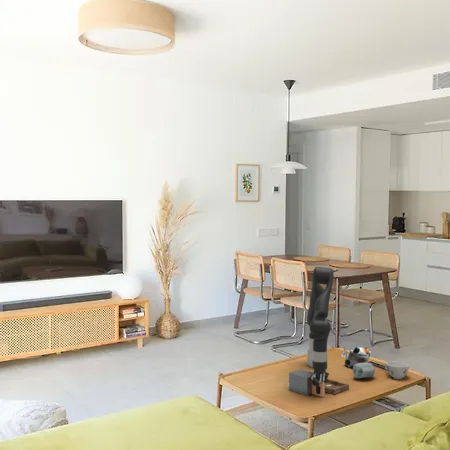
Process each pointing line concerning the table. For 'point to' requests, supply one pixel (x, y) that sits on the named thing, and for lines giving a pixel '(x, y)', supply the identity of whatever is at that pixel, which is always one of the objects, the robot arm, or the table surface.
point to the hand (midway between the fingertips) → (319, 393)
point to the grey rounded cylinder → (363, 370)
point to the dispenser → (300, 381)
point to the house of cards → (344, 353)
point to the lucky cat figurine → (357, 356)
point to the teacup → (397, 369)
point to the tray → (335, 387)
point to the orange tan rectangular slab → (322, 389)
